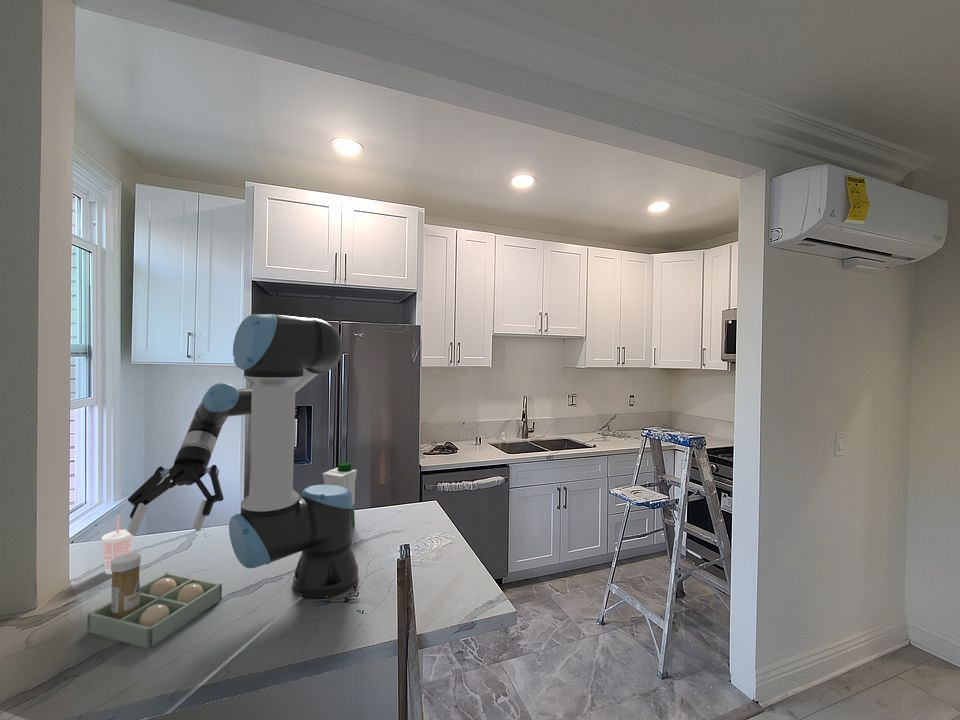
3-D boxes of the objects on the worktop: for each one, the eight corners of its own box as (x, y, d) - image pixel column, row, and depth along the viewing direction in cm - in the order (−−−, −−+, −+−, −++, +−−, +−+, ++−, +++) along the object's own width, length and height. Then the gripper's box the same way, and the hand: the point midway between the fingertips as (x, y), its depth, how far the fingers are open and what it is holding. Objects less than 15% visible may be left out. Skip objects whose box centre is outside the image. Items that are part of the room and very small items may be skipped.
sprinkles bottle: (138, 624, 82) (138, 559, 82) (108, 632, 80) (108, 565, 79) (141, 612, 86) (142, 549, 86) (113, 619, 84) (113, 555, 83)
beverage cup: (138, 561, 107) (138, 509, 107) (125, 574, 101) (126, 518, 101) (109, 564, 105) (110, 511, 105) (95, 577, 99) (96, 520, 99)
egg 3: (208, 602, 90) (209, 580, 90) (188, 615, 86) (188, 593, 85) (191, 598, 91) (192, 577, 91) (170, 611, 87) (171, 589, 87)
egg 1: (181, 596, 92) (182, 575, 92) (160, 609, 87) (160, 587, 87) (165, 592, 93) (165, 571, 93) (143, 605, 89) (143, 583, 88)
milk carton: (358, 523, 134) (360, 463, 134) (339, 534, 126) (341, 470, 125) (337, 518, 138) (339, 460, 137) (317, 529, 129) (319, 466, 129)
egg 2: (175, 624, 83) (175, 601, 83) (151, 640, 78) (151, 615, 78) (157, 619, 84) (157, 596, 84) (132, 635, 79) (132, 611, 79)
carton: (221, 601, 91) (221, 583, 91) (148, 651, 76) (149, 629, 76) (166, 589, 95) (167, 572, 95) (87, 634, 80) (87, 614, 80)
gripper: (249, 457, 115) (227, 533, 101) (149, 460, 110) (110, 540, 96) (242, 443, 110) (218, 520, 95) (137, 445, 105) (94, 527, 90)
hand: (164, 530), depth 95 cm, fingers open, 13 cm apart
